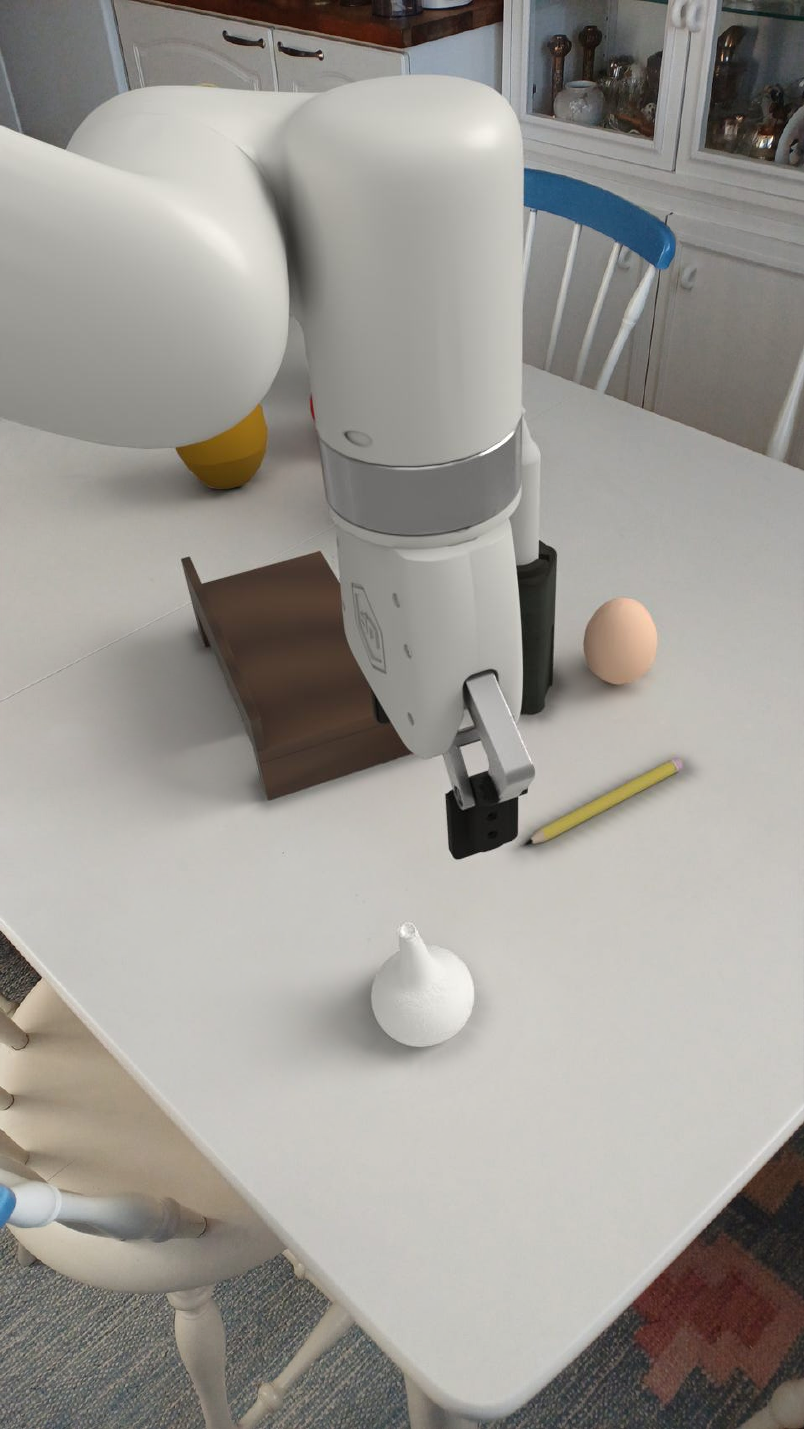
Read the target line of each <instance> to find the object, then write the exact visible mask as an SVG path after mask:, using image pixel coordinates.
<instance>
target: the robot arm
mask: <svg viewBox="0 0 804 1429" xmlns="http://www.w3.org/2000/svg"><path fill="white" fill-rule="evenodd" d="M524 161H525V160H524V141H523V133H522V130H521V124H520V122H519V119H518V116H517V114H516V112H515V111H514V109H513V108H512V106H511V104H510V102H509V101H508V100H507V98H506V97H504V96H503V95H502V94H500V92H498V91H497V90H496V89H495V88H493V87H491V86H489V85H487V84H484V83H482V82H478V81H475V80H472V79H469V78H463V77H461V76H453V75H445V74H444V75H442V74H403V75H390V76H381V77H375V78H369V79H363V80H362V79H361V80H358V81H353V82H349V83H346V84H343V85H340V86H336V87H333V88H331V89H329V90H327V91H324V92H296V91H295V92H294V91H289V92H288V91H273V90H272V91H270V90H269V91H268V90H249V89H239V88H238V89H237V88H225V87H220V88H215V87H208V86H204V87H202V86H195V85H184V84H183V85H180V84H179V85H177V84H176V85H171V84H170V85H169V84H168V85H153V86H146V87H140V88H135V89H132V90H127V91H125V92H123V93H120V94H117V95H115V96H113V97H111V98H110V99H108V100H106V101H104V102H103V103H101V104H100V105H98V106H97V107H96V108H94V110H93V111H91V112H90V113H89V114H88V115H87V116H86V117H85V118H84V120H83V121H82V122H81V123H80V125H79V126H78V127H77V129H76V130H75V131H74V132H73V134H72V136H71V138H70V139H69V142H68V143H67V145H66V148H65V149H64V148H61V147H58V146H55V145H53V144H52V143H51V144H50V143H48V142H45V141H42V140H39V139H37V138H34V137H32V136H29V135H26V134H23V133H21V132H19V131H15V130H13V129H11V128H8V127H7V126H4V125H1V124H0V419H3V420H6V421H10V422H13V423H16V424H20V425H22V426H26V427H30V428H34V429H37V430H40V431H44V432H46V433H51V434H55V435H60V436H63V437H68V438H72V439H76V440H80V441H83V442H89V443H93V444H98V445H103V446H110V447H122V448H130V449H131V448H132V449H141V450H159V449H175V447H182V446H187V445H191V444H195V443H199V442H202V441H206V440H208V439H210V438H213V437H215V436H217V435H219V434H221V433H223V432H225V431H227V430H229V429H231V428H233V427H234V426H235V425H236V424H238V423H239V422H240V421H241V420H243V419H244V418H245V417H246V416H248V415H249V414H250V413H251V412H252V411H253V410H254V409H255V407H256V406H257V405H258V404H260V403H261V401H262V400H263V399H264V398H265V396H266V395H267V393H268V392H269V391H270V389H271V387H272V385H273V383H274V381H275V379H276V377H277V375H278V373H279V370H280V368H281V366H282V362H283V359H284V356H285V352H286V349H287V342H288V337H289V324H290V323H289V322H290V321H289V320H290V316H291V317H292V318H294V319H295V321H297V322H298V323H299V325H300V327H301V330H302V335H303V341H304V342H303V343H304V349H305V357H306V363H307V371H308V378H309V386H310V395H311V394H312V401H313V408H314V416H315V422H314V424H315V423H316V424H315V429H316V437H317V443H318V452H319V460H320V465H321V474H322V479H323V481H322V482H323V486H324V487H323V488H324V496H325V503H326V508H327V512H328V514H329V516H330V517H331V519H332V521H333V522H334V523H335V531H336V533H335V534H336V548H337V560H338V575H339V582H340V587H341V599H342V611H343V621H344V629H345V634H346V638H347V641H348V644H349V646H350V649H351V651H352V653H353V655H354V657H355V659H356V661H357V663H358V665H359V666H360V668H361V670H362V672H363V674H364V675H365V677H366V679H367V681H368V683H369V684H370V688H371V696H372V705H373V713H374V716H375V718H376V719H377V721H378V722H379V723H383V724H386V723H390V722H391V723H392V724H393V726H394V728H395V730H396V731H397V733H398V734H399V736H400V738H401V739H402V741H403V742H404V744H405V745H406V747H407V748H408V749H409V750H410V751H411V752H413V753H412V754H414V755H415V756H417V757H419V758H421V759H423V760H430V759H432V758H435V757H438V756H442V759H443V761H444V765H445V768H446V771H447V775H448V777H449V782H450V785H451V788H452V789H450V790H449V791H448V792H446V793H445V794H444V797H445V814H446V815H445V816H446V826H447V827H446V828H447V848H448V850H449V852H450V854H451V856H452V858H453V859H454V860H457V861H458V860H459V861H460V860H463V859H466V858H468V857H471V856H474V855H477V854H480V853H487V852H490V851H493V850H496V849H498V848H500V847H502V846H503V845H505V844H508V843H511V842H512V841H514V840H515V839H517V838H518V835H519V797H521V796H524V795H527V794H528V792H529V786H530V785H531V783H532V782H533V780H535V777H536V769H535V765H534V762H533V760H532V757H531V755H530V753H529V751H528V749H527V746H526V743H525V742H524V739H523V736H522V735H521V732H520V731H519V728H518V726H517V725H518V723H519V721H520V717H521V713H520V712H521V704H522V689H523V657H522V632H521V616H520V603H519V590H518V580H517V570H516V561H515V552H514V544H513V537H512V529H511V524H510V520H509V517H510V516H511V515H512V514H513V513H514V511H515V509H516V508H517V506H518V504H519V502H520V498H521V493H522V485H521V479H522V406H523V334H524V332H523V331H524V330H523V328H524V327H523V324H524V322H523V320H524V318H523V317H524V316H523V315H524V311H523V310H524V309H523V308H524V203H525V202H524V198H525V195H524V194H525V191H524V188H525V180H524V179H525V167H524V166H525V165H524ZM465 710H467V711H468V712H467V713H468V714H469V716H470V719H471V721H472V723H473V725H468V726H465V727H463V728H460V727H461V725H462V723H463V719H464V717H465ZM477 742H481V745H482V748H483V749H484V752H485V755H486V757H487V761H488V769H487V770H485V771H482V772H479V773H476V774H473V775H470V776H469V774H468V769H467V766H466V763H465V759H464V756H463V752H462V749H461V748H462V747H465V746H469V745H471V744H474V743H477Z"/></svg>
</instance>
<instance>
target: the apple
mask: <svg viewBox="0 0 804 1429" xmlns="http://www.w3.org/2000/svg"><path fill="white" fill-rule="evenodd" d="M268 437H269V430H268V426H267V422H266V418H265V415H264V411H263V407H262V405H261V403H259V404H258V405H257V406H256V407H255V409H254V410H253V411H252V412H251V413H250V414H249V415H248V416H246V417H245V418H244V419H243V420H241V421H240V422H239V423H238V424H236V425H235V426H234V427H233V428H231V429H229V430H227V431H225V432H223V433H221V434H219V435H217V436H215V437H213V438H210V439H208V440H206V441H202V442H199V443H195V444H191V445H187V446H182V447H175V448H174V449H175V451H176V453H177V455H178V457H179V458H180V460H181V461H182V462H183V464H184V465H185V466H186V467H187V469H188V471H189V472H190V473H192V474H193V476H195V477H196V479H198V481H200V482H201V483H203V485H205V486H207V487H208V488H210V489H217V490H228V489H234V488H239V487H241V486H244V485H246V484H248V483H249V482H251V480H252V478H254V476H255V475H256V474H257V472H258V471H259V469H260V467H261V466H262V463H263V460H264V459H265V455H266V453H267V446H268Z"/></svg>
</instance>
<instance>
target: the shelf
mask: <svg viewBox="0 0 804 1429" xmlns="http://www.w3.org/2000/svg"><path fill="white" fill-rule="evenodd" d="M180 562H181V566H182V570H183V574H184V577H185V581H186V585H187V589H188V593H189V597H190V601H191V606H192V608H193V609H192V610H193V614H194V617H195V620H196V624H197V629H198V632H199V635H200V638H201V640H202V643H203V646H204V647H205V648H207V647H210V649H211V650H212V653H213V655H214V658H215V660H216V662H217V664H218V667H219V670H220V672H221V674H222V676H223V680H224V682H225V684H226V686H227V689H228V691H229V694H230V696H231V698H232V701H233V703H234V706H235V708H236V711H237V712H238V715H239V717H240V720H241V722H242V724H243V727H244V730H245V732H246V734H247V736H248V739H249V741H250V743H251V746H252V750H253V755H254V759H255V763H256V767H257V772H258V776H259V781H260V784H261V787H262V789H263V791H264V794H265V796H266V799H267V800H268V801H272V800H274V799H277V798H280V797H283V796H287V795H290V794H292V793H296V792H298V791H302V790H305V789H308V788H311V787H314V786H318V785H320V784H323V783H326V782H329V781H333V780H336V779H339V778H341V777H344V776H348V775H351V774H354V773H356V772H359V771H362V770H366V769H369V768H372V767H375V766H378V765H381V764H383V763H387V762H390V761H393V760H396V759H399V758H402V757H406V756H409V755H412V754H414V753H413V752H411V751H410V750H409V749H408V748H407V747H406V745H405V744H404V742H403V741H402V739H401V738H400V736H399V734H398V733H397V731H396V730H395V728H394V726H393V724H392V723H391V722H390V723H386V724H383V723H379V722H378V721H377V719H376V718H375V716H374V713H373V705H372V696H371V688H370V684H369V683H368V681H367V679H366V677H365V675H364V674H363V672H362V670H361V668H360V666H359V665H358V663H357V661H356V659H355V657H354V655H353V653H352V651H351V649H350V646H349V644H348V641H347V638H346V634H345V629H344V621H343V611H342V599H341V587H340V580H339V579H338V577H337V575H336V574H335V572H334V571H333V569H332V568H331V566H330V564H329V562H328V561H327V559H326V558H325V556H324V554H323V553H322V551H321V550H317V551H314V552H310V553H308V554H304V555H300V556H296V557H293V558H290V559H286V560H282V561H278V562H275V563H271V564H268V565H264V566H260V567H257V568H252V569H250V570H247V571H242V572H239V573H236V574H235V573H234V574H232V575H231V574H230V575H228V576H225V577H221V578H217V579H213V580H210V581H206V582H203V583H202V581H201V578H200V576H199V574H198V572H197V569H196V567H195V565H194V562H193V560H192V558H191V557H190V556H185V557H181V559H180Z"/></svg>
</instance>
